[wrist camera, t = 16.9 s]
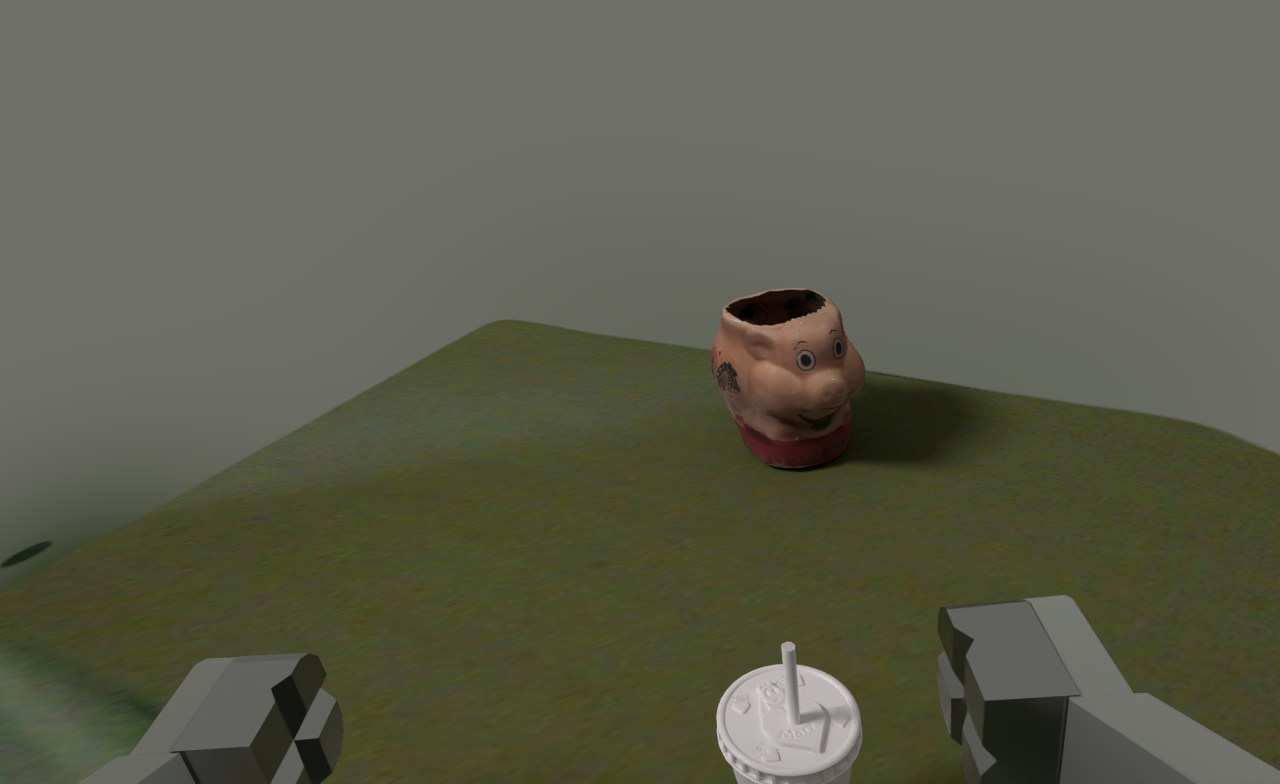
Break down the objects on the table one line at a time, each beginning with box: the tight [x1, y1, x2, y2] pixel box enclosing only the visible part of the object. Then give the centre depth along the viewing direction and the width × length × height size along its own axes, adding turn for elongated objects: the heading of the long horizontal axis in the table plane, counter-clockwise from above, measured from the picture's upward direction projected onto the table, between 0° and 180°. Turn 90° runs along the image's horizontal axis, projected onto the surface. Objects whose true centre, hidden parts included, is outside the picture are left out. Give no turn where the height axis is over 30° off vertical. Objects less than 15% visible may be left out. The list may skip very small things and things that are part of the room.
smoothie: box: [717, 642, 862, 784], centre depth 38 cm, size 6×6×14 cm
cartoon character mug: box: [711, 288, 865, 468], centre depth 77 cm, size 20×12×14 cm, turn 24°
